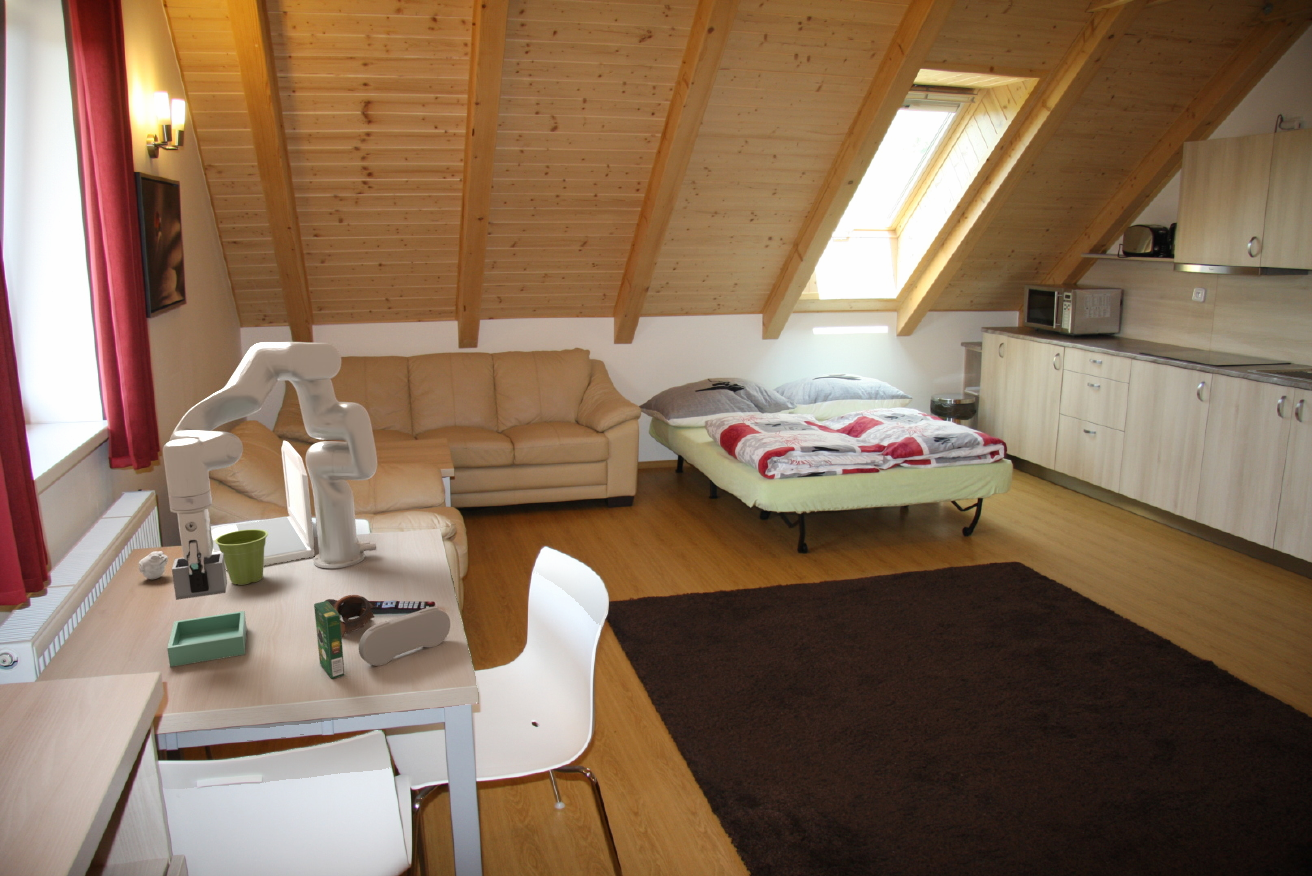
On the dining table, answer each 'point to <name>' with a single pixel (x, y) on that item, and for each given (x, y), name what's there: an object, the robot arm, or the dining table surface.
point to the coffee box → (329, 639)
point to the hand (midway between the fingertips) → (201, 584)
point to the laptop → (284, 533)
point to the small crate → (214, 575)
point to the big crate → (207, 638)
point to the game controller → (404, 635)
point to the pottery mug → (352, 612)
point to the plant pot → (243, 554)
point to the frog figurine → (153, 565)
